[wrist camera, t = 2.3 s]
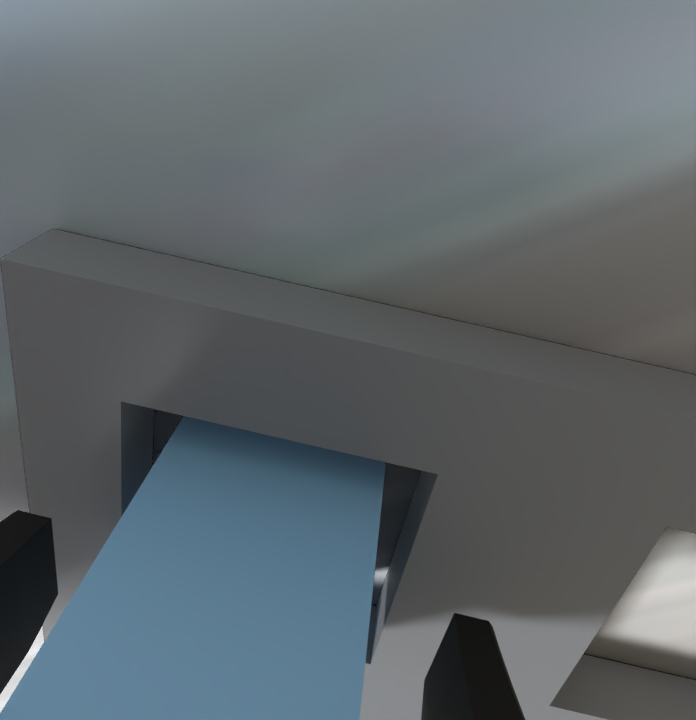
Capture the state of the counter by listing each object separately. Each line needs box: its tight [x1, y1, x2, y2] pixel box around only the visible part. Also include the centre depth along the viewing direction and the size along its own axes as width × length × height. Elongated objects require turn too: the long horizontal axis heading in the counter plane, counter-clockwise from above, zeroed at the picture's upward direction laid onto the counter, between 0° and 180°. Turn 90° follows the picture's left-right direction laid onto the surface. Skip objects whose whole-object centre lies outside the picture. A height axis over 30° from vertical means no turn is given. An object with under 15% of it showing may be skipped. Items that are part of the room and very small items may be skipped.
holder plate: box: [0, 229, 696, 720], centre depth 12 cm, size 10×19×2 cm, turn 79°
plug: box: [0, 416, 386, 720], centre depth 10 cm, size 4×4×7 cm
